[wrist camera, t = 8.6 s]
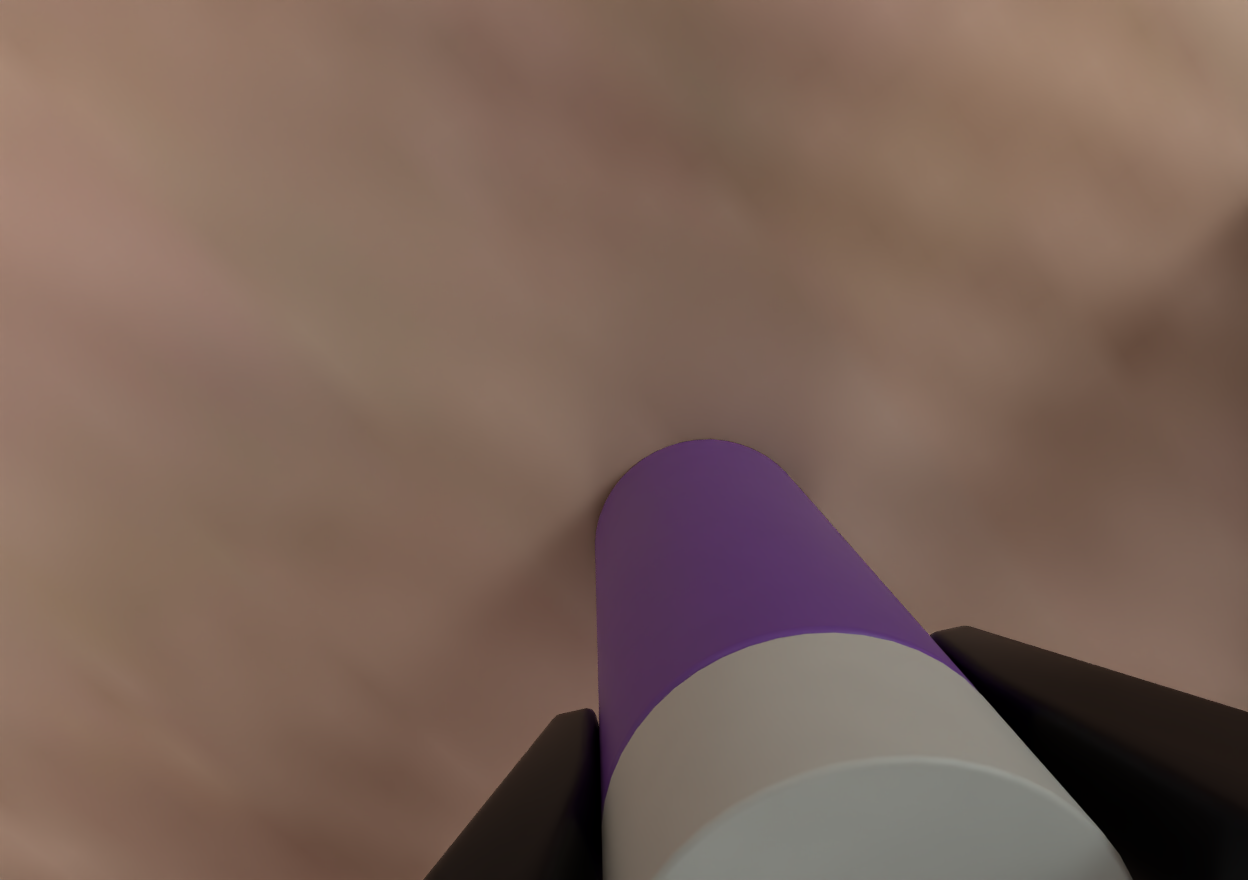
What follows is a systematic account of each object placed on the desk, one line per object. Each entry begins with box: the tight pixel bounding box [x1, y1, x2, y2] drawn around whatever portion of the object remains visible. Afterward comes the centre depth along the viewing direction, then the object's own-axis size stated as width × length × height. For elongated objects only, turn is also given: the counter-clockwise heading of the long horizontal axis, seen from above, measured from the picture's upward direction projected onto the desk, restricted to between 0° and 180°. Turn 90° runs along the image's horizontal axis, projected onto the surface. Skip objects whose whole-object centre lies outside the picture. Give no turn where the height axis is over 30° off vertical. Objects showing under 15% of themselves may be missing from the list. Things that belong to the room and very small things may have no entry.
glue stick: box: [595, 439, 1133, 880], centre depth 9 cm, size 4×4×8 cm
